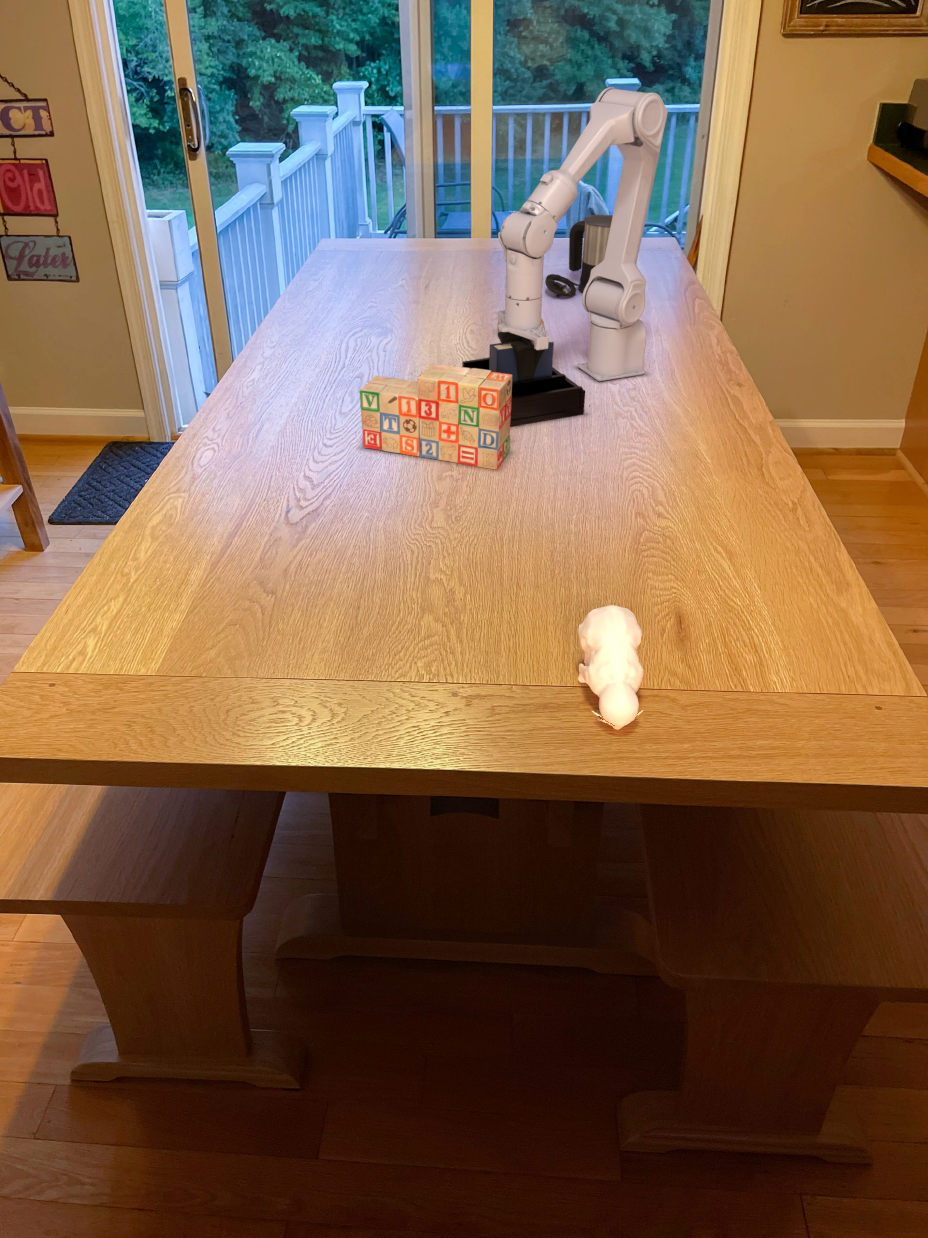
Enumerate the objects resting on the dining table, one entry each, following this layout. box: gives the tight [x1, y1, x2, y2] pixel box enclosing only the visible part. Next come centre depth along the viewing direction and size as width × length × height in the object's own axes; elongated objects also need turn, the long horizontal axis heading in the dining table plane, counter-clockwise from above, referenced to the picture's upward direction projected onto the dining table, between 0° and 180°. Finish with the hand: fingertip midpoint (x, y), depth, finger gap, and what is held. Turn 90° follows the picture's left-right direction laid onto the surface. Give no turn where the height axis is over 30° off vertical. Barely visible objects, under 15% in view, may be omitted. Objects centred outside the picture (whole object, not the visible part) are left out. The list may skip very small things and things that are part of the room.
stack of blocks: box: [359, 363, 512, 470], centre depth 141 cm, size 21×6×12 cm, turn 71°
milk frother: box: [544, 214, 620, 298], centre depth 206 cm, size 14×16×15 cm
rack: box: [461, 357, 586, 428], centre depth 159 cm, size 14×19×4 cm
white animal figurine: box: [577, 604, 645, 730], centre depth 94 cm, size 6×8×12 cm
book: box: [488, 340, 555, 382], centre depth 157 cm, size 10×3×8 cm, turn 113°
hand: (520, 378), depth 158 cm, fingers closed on book, 3 cm apart
